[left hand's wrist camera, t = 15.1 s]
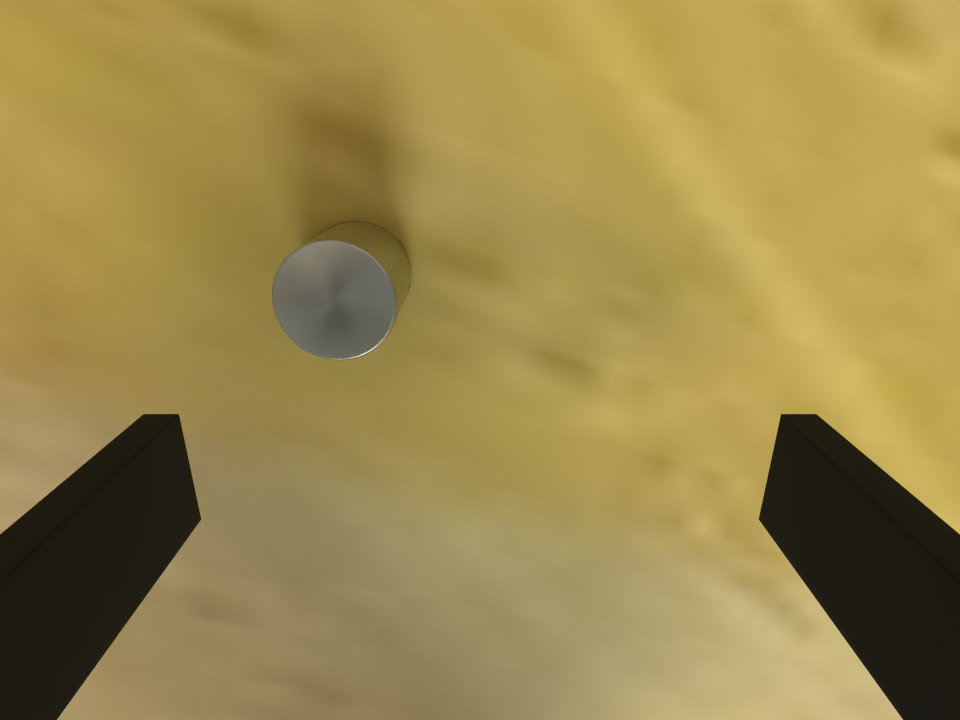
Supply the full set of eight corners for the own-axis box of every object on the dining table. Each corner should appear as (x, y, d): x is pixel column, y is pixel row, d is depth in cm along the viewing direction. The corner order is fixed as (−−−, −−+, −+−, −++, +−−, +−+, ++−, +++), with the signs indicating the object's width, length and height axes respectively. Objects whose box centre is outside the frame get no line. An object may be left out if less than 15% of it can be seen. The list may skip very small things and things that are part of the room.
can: (296, 301, 21) (257, 335, 18) (325, 205, 20) (289, 219, 16) (392, 336, 22) (374, 377, 18) (425, 244, 21) (413, 267, 17)
